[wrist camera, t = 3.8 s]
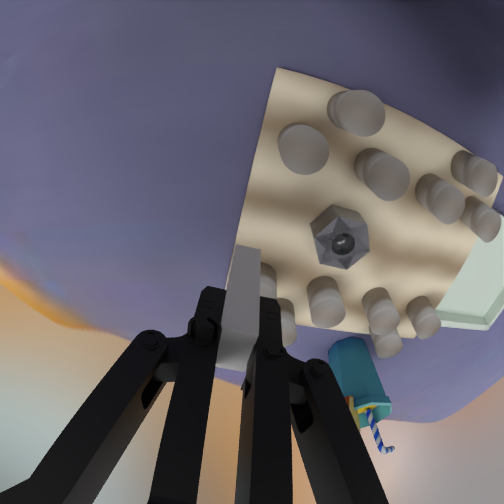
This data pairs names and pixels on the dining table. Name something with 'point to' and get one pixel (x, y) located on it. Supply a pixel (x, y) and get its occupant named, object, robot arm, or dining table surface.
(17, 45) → the dining table surface
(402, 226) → the board
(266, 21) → the dining table surface
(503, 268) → the tray
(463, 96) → the dining table surface
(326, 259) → the nut
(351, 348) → the cup
